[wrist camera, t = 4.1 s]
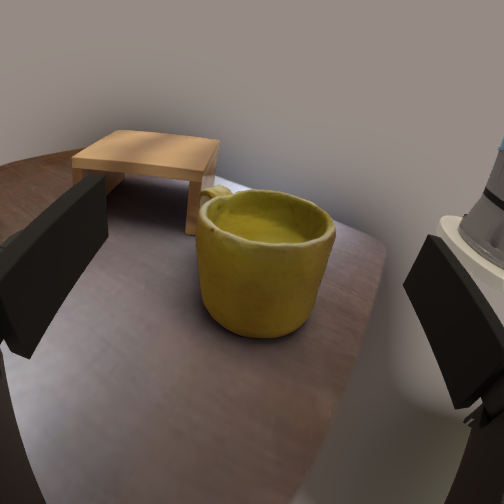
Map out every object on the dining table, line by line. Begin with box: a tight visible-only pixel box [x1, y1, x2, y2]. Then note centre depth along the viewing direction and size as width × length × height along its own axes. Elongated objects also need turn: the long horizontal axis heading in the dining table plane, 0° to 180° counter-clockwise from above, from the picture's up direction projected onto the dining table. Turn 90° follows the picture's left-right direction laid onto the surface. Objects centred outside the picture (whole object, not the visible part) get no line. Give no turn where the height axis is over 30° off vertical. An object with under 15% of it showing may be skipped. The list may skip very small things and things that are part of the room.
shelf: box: [72, 130, 220, 235], centre depth 34 cm, size 14×12×7 cm
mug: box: [195, 185, 336, 338], centre depth 24 cm, size 12×10×10 cm
